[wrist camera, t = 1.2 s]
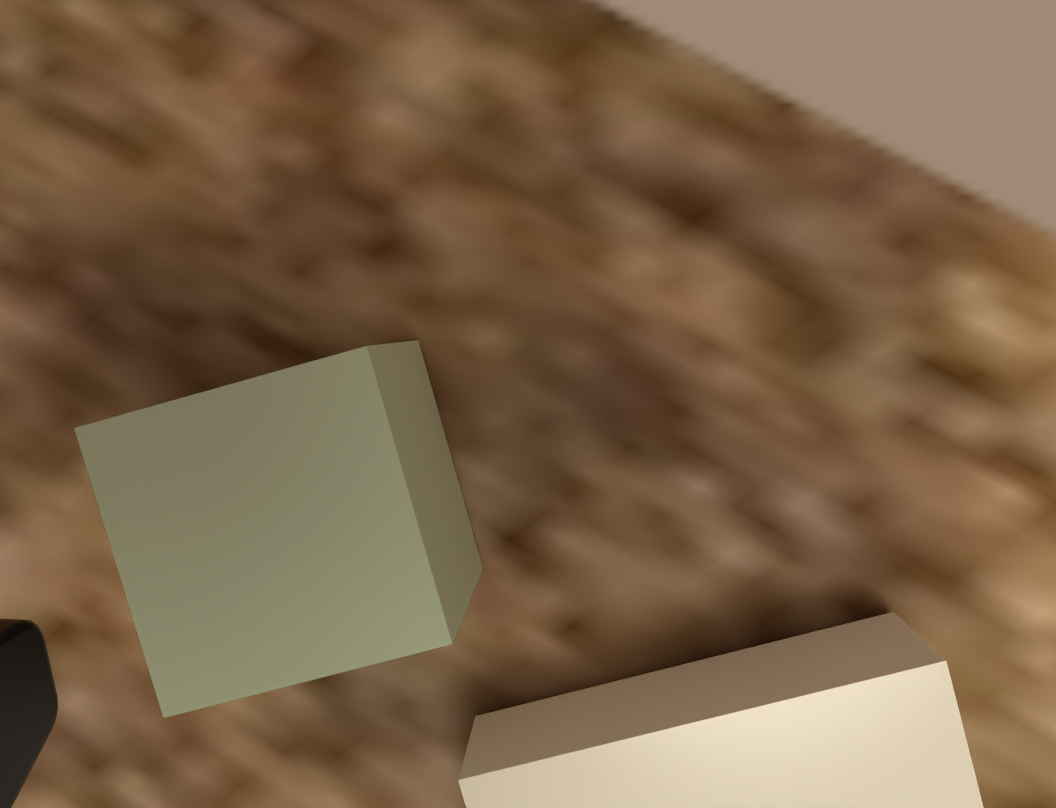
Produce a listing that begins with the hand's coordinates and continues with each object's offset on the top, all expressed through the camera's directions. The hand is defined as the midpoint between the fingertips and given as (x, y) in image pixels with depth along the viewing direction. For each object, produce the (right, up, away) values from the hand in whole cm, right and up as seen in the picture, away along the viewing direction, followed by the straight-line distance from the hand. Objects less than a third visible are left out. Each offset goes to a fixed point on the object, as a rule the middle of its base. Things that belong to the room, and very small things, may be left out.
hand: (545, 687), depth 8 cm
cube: (-4, +1, +13) cm, 14 cm away
